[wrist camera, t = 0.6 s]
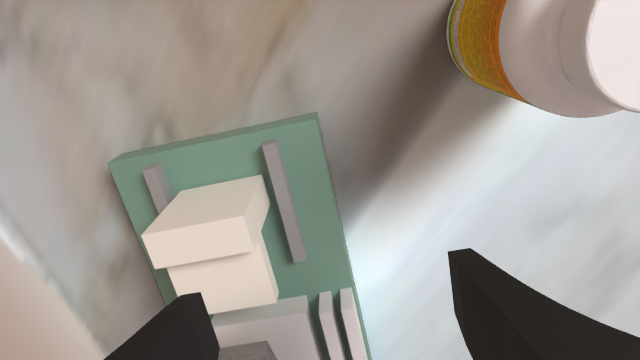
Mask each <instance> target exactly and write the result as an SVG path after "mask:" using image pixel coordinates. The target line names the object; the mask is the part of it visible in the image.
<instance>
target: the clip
mask: <svg viewBox="0 0 640 360" xmlns="http://www.w3.org/2000/svg"><path fill="white" fill-rule="evenodd" d="M269 206H270V200H269V196H268V193H267V189H266V186H265V182H264V179H263V175H262V174H261V175H256V176H251V177H246V178H241V179H236V180H231V181H226V182H221V183H216V184H211V185H206V186H201V187H196V188H191V189H186V190H181V191H180V192H179V193H178V195H177V196H176V197H175V198H174V199H173V200H172V201H171V202H170V203H169V205H168V206H167V207H166V208H165V209H164V210H163V211H162V212H161V214H160V215H159V216H158V217H157V218H156V219H155V220H154V221H153V223H152V224H151V225H150V226H149V227H148V228H147V229H146V230H145V231H144V233H143V234H142V235H141V237H142V239H143V242H144V244H145V247H146V249H147V251H148V254H149V256H150V259H151V261H152V264H153V266H154V269H159V268H165V267H166V268H167V271H168V273H169V276H170V278H171V281H172V283H173V286H174V288H175V291H176V293H177V296H178V297H179V296H180V295H184V294H190V293H196V292H201V295H202V297H203V300H204V303H205V306H206V309H207V312H208V314H215V313H221V312H226V311H232V310H238V309H244V308H250V307H256V306H262V305H267V304H273V303H277V299H278V294H279V290H278V287H277V283H276V280H275V276H274V273H273V270H272V266H271V263H270V260H269V256H268V253H267V250H266V246H265V243H264V240H263V236H262V233H261V230H262V227H263V224H264V221H265V218H266V215H267V212H268V209H269Z"/></svg>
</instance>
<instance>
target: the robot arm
mask: <svg viewBox="0 0 640 360" xmlns="http://www.w3.org/2000/svg"><path fill="white" fill-rule="evenodd" d="M448 257H449V266H450V275H451V284H452V293H453V302H454V311H455V315H456V318H457V320H458V323H459V326H460V329H461V332H462V335H463V337H464V340H465V343H466V346H467V348H468V350H469V352H470V354H471V356H472V358H473V360H640V338H639V337H636V336H634V335H631V334H628V333H626V332H623V331H620V330H618V329H615V328H612V327H610V326H608V325H605V324H603V323H600V322H598V321H596V320H593V319H591V318H589V317H587V316H585V315H582V314H580V313H578V312H576V311H574V310H571V309H569V308H567V307H565V306H563V305H561V304H559V303H557V302H556V301H554V300H552V299H550V298H548V297H546V296H545V295H543V294H541V293H539V292H537V291H535V290H534V289H532V288H530V287H529V286H527V285H525V284H524V283H522V282H520V281H519V280H517V279H516V278H514V277H512V276H511V275H509V274H508V273H506V272H505V271H503V270H502V269H500V268H499V267H497V266H496V265H494V264H493V263H491V262H490V261H488V260H487V259H485V258H484V257H483V256H481V255H480V254H478V253H477V252H475V251H474V250H472V249H471V248H468V249H461V250H455V251H449V252H448ZM219 351H220V345H219V343H218V340H217V337H216V334H215V331H214V329H213V326H212V323H211V320H210V317H209V314H208V312H207V309H206V306H205V303H204V300H203V297H202V295H201V292H196V293H190V294H184V295H180V296H179V297H177V298H176V299H175V300H173V301H172V302H171V303H170V304H169V305H167V306H166V307H165V308H164V309H163V310H161V311H160V312H159V313H158V314H157V315H156V316H155V317H153V318H152V319H151V320H150V321H149V322H148V323H147V324H145V325H144V326H143V327H142V328H141V329H140V330H139V331H137V332H136V333H135V334H134V335H133V336H132V337H131V338H129V339H128V340H127V341H126V342H125V343H124V344H122V345H121V346H120V347H119V348H117V349H116V350H115V351H114V352H113V353H111V354H110V355H109V356H108V357H106V358H105V359H104V360H218V357H219Z"/></svg>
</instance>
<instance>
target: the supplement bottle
mask: <svg viewBox="0 0 640 360" xmlns="http://www.w3.org/2000/svg"><path fill="white" fill-rule="evenodd" d="M447 43H448V49H449V52H450V55H451V57H452V59H453V61H454V63H455V65H456V66H457V67H458V69H459V70H460V71H461V72H462V73H463V74H464V75H465V76H466V77H467V78H468V79H470V80H471V81H473V82H475V83H477V84H479V85H481V86H483V87H485V88H488V89H491V90H494V91H496V92H499V93H502V94H504V95H507V96H509V97H512V98H514V99H517V100H519V101H522V102H525V103H527V104H530V105H532V106H534V107H537V108H539V109H542V110H545V111H547V112H551V113H554V114H557V115H561V116H566V117H575V118H587V117H597V116H602V115H607V114H611V113H614V112H617V111H620V110H627V111H631V112H637V113H640V0H454V2H453V5H452V7H451V10H450V13H449V17H448V22H447Z"/></svg>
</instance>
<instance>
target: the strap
mask: <svg viewBox="0 0 640 360" xmlns="http://www.w3.org/2000/svg"><path fill="white" fill-rule="evenodd" d="M218 360H277V358H276V356H275V354H274V353H273V351H272V349H271V347H270V345H269V343H268V341H267V340H266V341H260V342H254V343H248V344H242V345H235V346H229V347H223V348H220V351H219V357H218Z"/></svg>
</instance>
